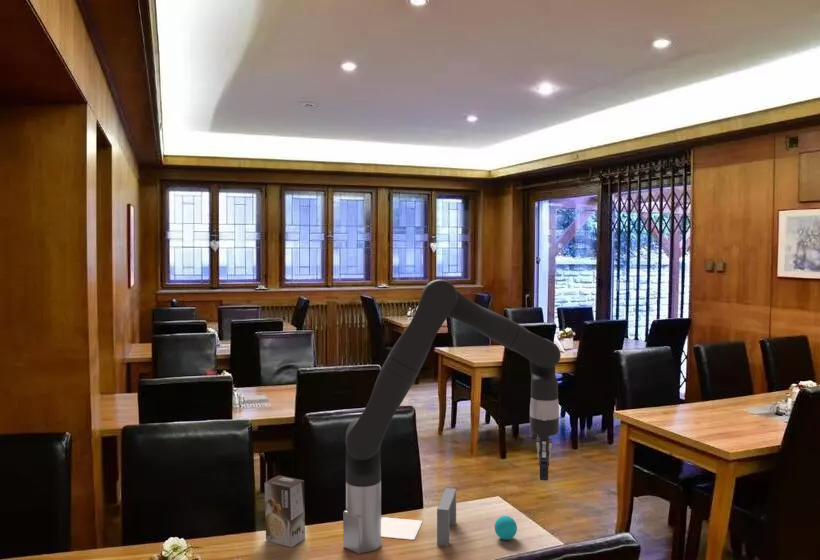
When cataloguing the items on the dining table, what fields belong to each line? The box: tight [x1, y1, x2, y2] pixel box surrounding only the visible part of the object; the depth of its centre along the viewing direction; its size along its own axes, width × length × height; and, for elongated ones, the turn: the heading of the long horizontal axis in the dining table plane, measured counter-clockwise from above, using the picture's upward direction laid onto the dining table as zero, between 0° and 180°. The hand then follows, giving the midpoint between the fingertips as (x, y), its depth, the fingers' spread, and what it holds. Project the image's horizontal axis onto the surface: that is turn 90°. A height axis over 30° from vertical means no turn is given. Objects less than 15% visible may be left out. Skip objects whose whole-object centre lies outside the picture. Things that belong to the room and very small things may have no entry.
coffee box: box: [264, 475, 306, 548], centre depth 167 cm, size 9×6×16 cm
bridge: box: [436, 487, 457, 547], centre depth 171 cm, size 3×15×10 cm, turn 168°
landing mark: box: [381, 516, 423, 541], centre depth 174 cm, size 12×12×1 cm
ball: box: [494, 515, 518, 541], centre depth 168 cm, size 6×6×6 cm
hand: (543, 479), depth 165 cm, fingers closed
